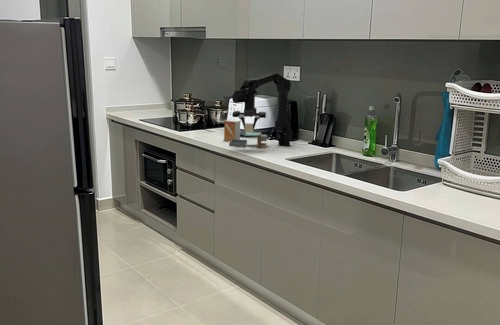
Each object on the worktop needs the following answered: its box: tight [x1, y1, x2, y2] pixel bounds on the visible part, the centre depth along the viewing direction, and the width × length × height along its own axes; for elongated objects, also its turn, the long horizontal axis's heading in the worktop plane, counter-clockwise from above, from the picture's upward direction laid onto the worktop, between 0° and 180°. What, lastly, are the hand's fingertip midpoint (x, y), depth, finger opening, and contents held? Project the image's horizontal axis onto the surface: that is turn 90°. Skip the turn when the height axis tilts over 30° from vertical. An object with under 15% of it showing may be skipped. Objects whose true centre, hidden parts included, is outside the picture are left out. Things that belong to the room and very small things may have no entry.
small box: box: [223, 119, 241, 142], centre depth 300 cm, size 8×6×13 cm
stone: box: [244, 122, 254, 133], centre depth 274 cm, size 5×5×4 cm
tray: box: [228, 139, 248, 148], centre depth 288 cm, size 9×12×2 cm
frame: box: [256, 131, 267, 149], centre depth 287 cm, size 5×13×8 cm, turn 175°
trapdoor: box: [244, 132, 268, 142], centre depth 287 cm, size 12×9×4 cm
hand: (249, 129), depth 274 cm, fingers closed on stone, 5 cm apart
